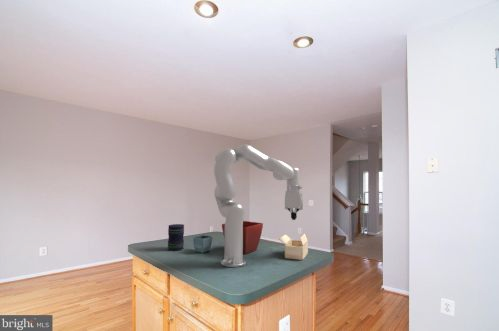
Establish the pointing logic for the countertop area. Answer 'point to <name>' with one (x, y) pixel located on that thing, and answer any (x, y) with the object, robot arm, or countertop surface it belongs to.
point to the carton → (296, 250)
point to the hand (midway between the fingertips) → (293, 219)
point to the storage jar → (176, 237)
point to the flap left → (284, 239)
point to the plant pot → (249, 235)
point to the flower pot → (202, 243)
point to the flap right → (303, 239)
